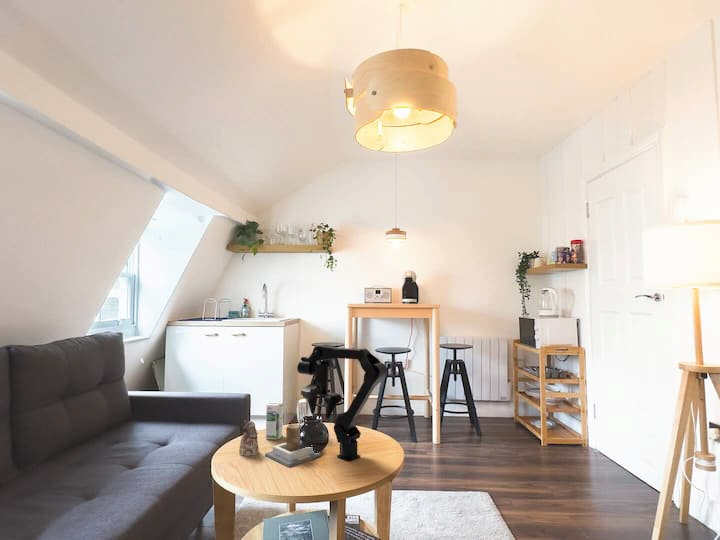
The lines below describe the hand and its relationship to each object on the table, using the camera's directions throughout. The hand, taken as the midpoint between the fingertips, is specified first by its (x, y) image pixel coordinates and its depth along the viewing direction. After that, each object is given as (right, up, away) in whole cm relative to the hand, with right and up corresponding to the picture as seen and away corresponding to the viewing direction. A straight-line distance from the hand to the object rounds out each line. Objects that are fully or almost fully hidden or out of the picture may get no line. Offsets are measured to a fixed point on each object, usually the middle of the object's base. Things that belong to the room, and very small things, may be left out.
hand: (320, 416), depth 161 cm
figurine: (-27, -13, -3) cm, 30 cm away
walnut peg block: (-10, -12, -7) cm, 16 cm away
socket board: (-10, -13, -7) cm, 17 cm away
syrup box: (-21, -14, +14) cm, 29 cm away
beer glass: (-9, -15, +17) cm, 24 cm away
